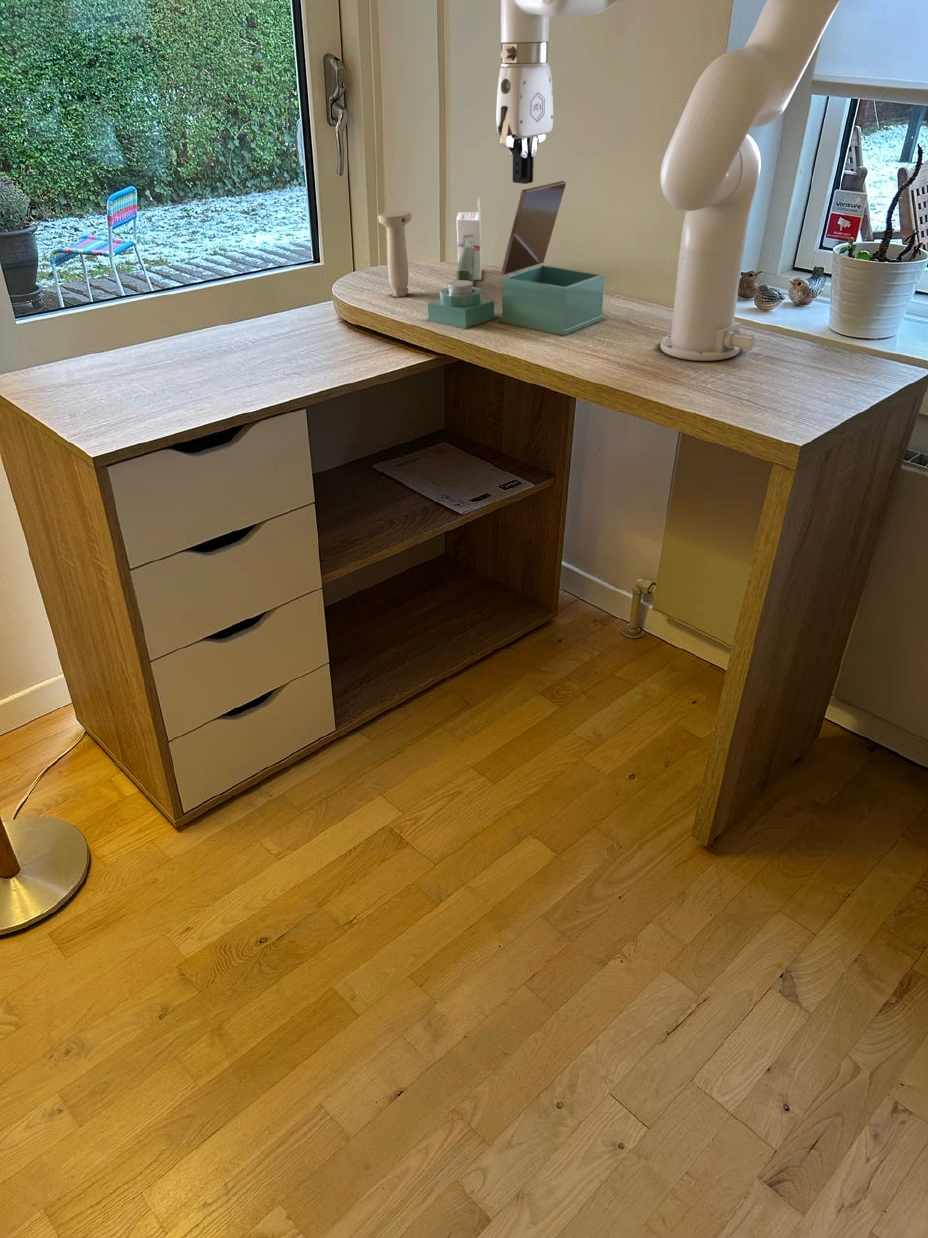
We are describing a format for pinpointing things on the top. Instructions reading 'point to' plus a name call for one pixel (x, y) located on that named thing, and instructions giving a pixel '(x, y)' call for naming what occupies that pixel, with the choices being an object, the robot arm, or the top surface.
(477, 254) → the ink cartridge box
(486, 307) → the flush button base
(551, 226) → the brown rectangular panel
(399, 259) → the handle
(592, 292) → the teal bin
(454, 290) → the flush button
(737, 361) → the top surface
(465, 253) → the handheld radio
